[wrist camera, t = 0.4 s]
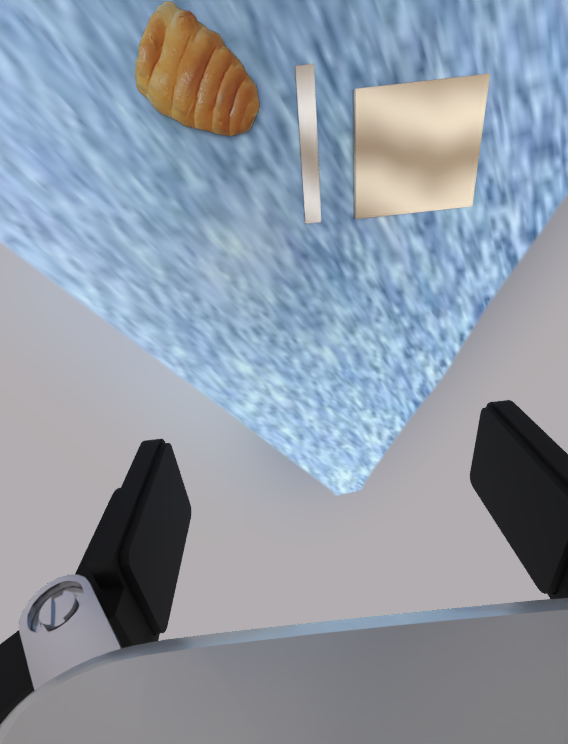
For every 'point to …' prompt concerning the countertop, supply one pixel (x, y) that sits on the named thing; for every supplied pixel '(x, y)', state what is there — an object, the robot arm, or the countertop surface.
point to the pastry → (194, 74)
